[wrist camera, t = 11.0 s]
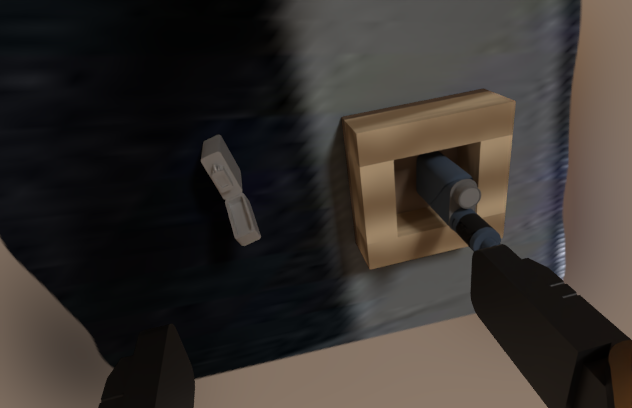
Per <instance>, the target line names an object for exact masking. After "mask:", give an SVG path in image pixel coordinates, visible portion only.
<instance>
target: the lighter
mask: <svg viewBox="0 0 632 408" xmlns="http://www.w3.org/2000/svg"><path fill="white" fill-rule="evenodd" d="M201 163H202V164H203V166H204V168H205V169H206V171H207V173H208V174H209V176H210V178H211V179H212V181H213V183H214V184H215V186H216V187H217V189H218V191H219V192H220V194H221V196H222V197H223V199H225V200H226V201H225V204H226V208H227V211H228V215H229V219H230V222H231V226H232V229H233V233H234V237H235V239H236V240H237V241H238V242H239V243H240V244H241V245H242V246H246V245H248V244H250V243H252V242H254V241H256V240H259V239H260V237H261V235H260V232H259V229H258V226H257V223H256V220H255V217H254V214H253V211H252V207H251V204H250V201H249V200H248V199H247V197H246V196H245V195H244V194H243V193H242V182H241V171H240V169H239V167H238V165H237V164H236V162H235V160H234V158H233V156H232V155H231V153H230V151H229V149H228V147H227V146H226V144H225V142H224V140H223V138H222V137H221V135H216V136H214V137H212V138H210V139H208V140H205V141H204V143H203V148H202V156H201Z"/></svg>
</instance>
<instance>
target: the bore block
mask: <svg viewBox="0 0 632 408" xmlns="http://www.w3.org/2000/svg"><path fill="white" fill-rule="evenodd" d="M515 103H516V101H514V100H511V99H509V98H506V97H504V96H501V95H499V94H496V93H494V92H491V91H488V90H486V89H479V90H474V91H469V92H464V93H459V94H454V95H449V96H444V97H439V98H434V99H429V100H424V101H419V102H414V103H409V104H404V105H399V106H394V107H389V108H384V109H379V110H374V111H369V112H364V113H359V114H354V115H349V116H344V117H341V118H342V127H343V136H344V144H345V153H346V162H347V171H348V179H349V188H350V197H351V206H352V214H353V223H354V232H355V240H356V244H357V246H358V248H359V250H360V252H361V254H362V256H363V258H364V259H365V261H366V263H367V265H368V267H369V269H370V270H371V269H375V268H379V267H383V266H388V265H392V264H396V263H400V262H404V261H408V260H413V259H417V258H421V257H425V256H429V255H433V254H438V253H442V252H446V251H450V250H454V249H458V248H463V247H467V246H468V245H467V244H466V243H465V242H464V241H463V240H462V238H461V237H460V236H459V235H458V234H457V233H456V232H455V231H453V230H452V229H450V227H449V226H448V225H447V224H446V223H445V222H444V221H443V220H442V218H441V217H440V216H439V215H438V214H437V213H436V212H435V211H434V210H433V209H432V208H431V207H430V206H429V205H428V204H427V202H426V201H425V200H424V199H423V198H422V197H421V196H420V195H419V194H418V193H417V191H416V161H417V158H418V156H419V155H420V154H424V153H429V152H434V151H439V152H441V153H442V154H443V155H445V156H446V157H447V158H449V159H450V160H451V161H452V162H454V163H455V164H456V165H458V166H459V167H460V168H462V169H463V170H464V171H466V172H467V173H468V174H469V175H471V177H472V178H473V181H475V182H476V184H477V188H478V189H480V191H481V199H480V201H479V202H478V204H477V205H476V211H475V212H476V213H477V214H478V215H479V216H480V217H481V218H482V219H484V220H485V221H486V222H487V223H488V224H489V225H490V226H491V227H492V228H494V229H495V230H496V231H497V232H498V233H499V234H500V236H501V238H503V231H504V220H505V210H506V199H507V188H508V178H509V167H510V156H511V146H512V135H513V124H514V114H515Z"/></svg>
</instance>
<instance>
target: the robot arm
mask: <svg viewBox="0 0 632 408" xmlns="http://www.w3.org/2000/svg"><path fill="white" fill-rule="evenodd" d="M471 301H472V304H473V307H474V310H475V312H476V314H477V315H478V317H479V318H480V319H481V321H482V322H483V323H484V325H485V326H486V327H487V329H488V330H489V331H490V333H491V334H492V335H493V336H494V338H495V339H496V340H497V342H498V343H499V344H500V346H501V347H502V348H503V350H504V351H505V352H506V353H507V355H508V356H509V357H510V359H511V360H512V361H513V362H514V364H515V365H516V366H517V368H518V369H519V370H520V372H521V373H522V374H523V376H524V377H525V378H526V379H527V381H528V382H529V383H530V385H531V386H532V387H533V389H534V390H535V391H536V392H537V394H538V395H539V396H540V398H541V399H542V400H543V402H544V403H545V404H546V405H547V407H548V408H632V340H631V339H630V338H629V337H627V336H626V335H625V334H624V333H623V332H622V331H620V330H619V329H618V328H617V327H616V326H615V325H614V324H612V323H611V322H610V321H609V320H608V319H606V318H605V317H604V316H603V315H602V314H601V313H600V312H599V311H597V310H596V309H595V308H594V307H593V306H592V305H591V304H589V303H588V302H587V301H586V300H585V299H584V298H582V297H581V296H580V295H577V294H576V291H574V290H573V289H572V288H571V287H570V286H569V285H568V284H564V281H563V280H562V279H561V278H560V277H558V276H557V275H556V274H555V273H554V272H553V271H551V270H550V269H549V268H548V267H546V266H544V265H542V264H539V263H537V262H535V261H533V260H531V259H529V258H525V259H521V258H519V257H518V256H517V255H516V254H515V253H514V252H513V251H512V250H511V249H510V248H509V247H507V246H506V245H503V244H500V245H496V246H492V247H488V248H484V249H480V250H476V251H475V252H474V253H473V256H472V274H471ZM194 391H195V381H194V374H193V369H192V366H191V363H190V361H189V358H188V356H187V354H186V351H185V349H184V346H183V344H182V342H181V339H180V337H179V335H178V332H177V330H176V328H175V326H174V325H173V324H169V325H165V326H161V327H157V328H152V329H148V330H144V331H141V332H140V333H139V336H138V339H137V343H136V347H135V351H134V355H132V356H128V357H124V358H121V359H120V361H119V362H118V364H117V365H116V366H115V368H114V369H113V371H112V372H111V374H110V375H109V376H108V378H107V381H106V384H105V387H104V391H103V394H102V398H101V403H100V404H99V407H98V408H193V407H194V393H195V392H194Z"/></svg>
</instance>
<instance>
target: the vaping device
mask: <svg viewBox="0 0 632 408" xmlns="http://www.w3.org/2000/svg"><path fill="white" fill-rule="evenodd" d="M416 191H417V193H418V194H419V195H420V196H421V197H422V198H423V199H424V200H425V201H426V202H427V204H428V205H429V206H430V207H431V208H432V209H433V210H434V211H435V212H436V213H437V214H438V215H439V216H440V217H441V218H442V220H443V221H444V222H445V223H446V224H447V225H448V226H449V227H450V229H452V230H453V231H455V232H456V233H457V234H458V235H459V236H460V237H461V238H462V240H463V241H464V242H465V243H466V244H467V245H468V246H469V247H470V248H471V249H472V250H473V251H474V252H475V251H476V250H480V249H484V248H488V247H492V246H496V245H500V242H501V236H500V234H499V233H498V232H497V231H496V230H495V229H494V228H492V227H491V226H490V225H489V224H488V223H487V222H486V221H485V220H484V219H482V218H481V217H480V216H479V215H478V214H477V213H476V212H475V211H476V205H477V204H478V202H479V201H480V199H481V191H480V189H478V188H477V184H476V182H475V181H473V178H472V177H471V175H469V174H468V173H467V172H466V171H464V170H463V169H462V168H460V167H459V166H458V165H456V164H455V163H454V162H452V161H451V160H450V159H449V158H447V157H446V156H445V155H443V154H442V153H441V152H439V151H434V152H429V153H424V154H420V155H419V156H418V158H417V161H416Z"/></svg>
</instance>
